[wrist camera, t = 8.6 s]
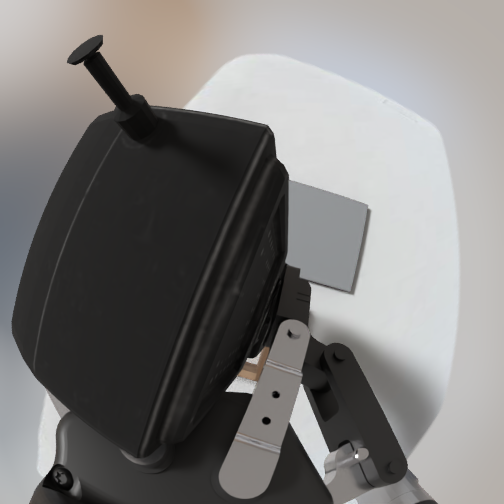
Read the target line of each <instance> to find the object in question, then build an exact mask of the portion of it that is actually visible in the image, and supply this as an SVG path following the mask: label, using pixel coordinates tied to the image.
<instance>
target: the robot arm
mask: <svg viewBox="0 0 504 504" xmlns="http://www.w3.org/2000/svg"><path fill="white" fill-rule="evenodd" d="M300 270H301V268H297V267H294V266H290V265H287V266H286V269H285V272H284V275H283V278H282V281H281V284H280V287H279V291H278V294H277V298H276V302H275V307H274V311H273V315H272V320H271V324H270V328H269V332H268V336H267V340H266V344H265V347H269V348H270V349H269V353H268V356H267V358H266V361H265V363H264V366H263V368H262V371H261V373H260V376H259V378H258V381H257V383H256V386H255V388H254V391H253V393H252V394H249V393H239V392H222V394H221V396H220V397H219V399H218V401H217V402H216V403H215V404H214V406H213V407H212V408H211V409H210V410H209V412H208V413H207V414H206V415H205V416H204V418H203V419H202V420H201V421H200V422H199V424H198V425H197V426H196V427H195V428H194V429H193V431H192V432H191V433H190V434H189V435H188V436H187V438H186V439H185V440H184V441H182V442H179V443H176V444H162V445H161V446H160V447H159V448H157V449H156V450H155V451H154V452H153V453H152V454H151V455H150V456H148V457H146V458H135V457H133V456H132V455H130V454H128V453H127V452H125V451H124V450H122V449H121V448H119V447H118V446H116V445H115V444H113V443H112V442H110V441H109V440H107V439H106V438H105V437H103V436H102V435H100V434H99V433H98V432H96V431H95V430H94V429H92V428H91V427H90V426H88V425H87V424H86V423H85V422H83V421H82V420H81V419H80V418H78V417H77V416H76V415H75V414H74V413H72V412H71V411H70V410H69V409H68V408H67V407H66V406H64V405H63V404H62V403H61V402H60V401H59V400H58V399H57V398H56V397H55V396H53V395H52V394H51V393H50V392H49V391H48V390H47V389H46V390H47V392H48V394H49V396H50V398H51V400H52V402H53V404H54V406H55V408H56V410H57V412H58V414H59V415H60V417H61V420H60V421H59V423H58V426H57V429H56V456H55V461H54V464H53V467H52V468H51V470H50V471H49V473H48V474H47V475H46V476H45V477H44V479H43V480H42V481H41V482H40V483H39V485H38V486H37V488H36V489H35V491H34V494H33V496H32V498H31V500H30V503H29V504H344V503H346V502H348V501H350V500H352V499H354V498H356V500H357V502H358V504H438V503H437V502H436V501H435V500H434V499H433V498H432V497H431V496H430V495H429V494H428V493H427V492H426V491H425V490H424V489H423V488H422V487H421V486H420V485H419V484H418V479H417V478H416V476H414V475H413V473H412V472H411V471H410V470H409V469H408V467H407V466H408V464H407V460H406V458H405V456H404V454H403V452H402V449H401V447H400V445H399V443H398V441H397V439H396V437H395V435H394V433H393V431H392V429H391V427H390V425H389V423H388V421H387V418H386V416H385V414H384V412H383V410H382V409H381V407H380V405H379V403H378V401H377V399H376V397H375V395H374V393H373V391H372V389H371V387H370V385H369V383H368V381H367V379H366V377H365V376H364V374H363V372H362V370H361V368H360V366H359V364H358V362H357V361H356V359H355V357H354V355H353V353H352V352H351V350H350V349H349V348H348V347H347V346H345V345H343V344H340V343H332V344H330V345H328V346H326V345H324V344H322V343H320V342H319V341H317V340H316V339H314V338H313V337H312V335H311V334H310V331H309V329H308V320H309V309H310V298H311V297H310V296H311V287H310V284H309V282H308V281H307V280H304V279H300ZM300 383H301V384H303V387H304V390H305V392H306V395H307V397H308V400H309V402H310V405H311V407H312V410H313V412H314V415H315V417H316V420H317V422H318V424H319V427H320V429H321V432H322V434H323V437H324V439H325V442H326V444H327V447H328V449H329V452H330V454H328V456H327V457H326V459H325V461H324V469H325V477H324V480H322V478H321V476H320V475H319V473H318V471H317V470H316V468H315V466H314V465H313V463H312V461H311V460H310V458H309V456H308V454H307V453H306V451H305V449H304V447H303V446H302V444H301V442H300V440H299V439H298V437H297V435H296V433H295V431H294V430H293V428H292V426H291V424H290V423H289V420H290V417H291V414H292V411H293V408H294V404H295V401H296V397H297V394H298V391H299V387H300Z"/></svg>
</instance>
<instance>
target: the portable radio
mask: <svg viewBox="0 0 504 504" xmlns="http://www.w3.org/2000/svg"><path fill="white" fill-rule="evenodd" d="M102 44H103V35H97V36H95V37H92V38H90V39H89V40H87V41H86V42H84V43H83V44H81V45H80V46H79V47H78V48H77V49H76V50H74V51H73V52H72V54H71V55H70V56H69V58H68V60H67V63H69V64H72V65H77V64H79V63H81V62H83V61H84V66H85V67H86V68H87V69H88V71H89V72H90V73H91V75H92V76H93V77H94V79H95V80H96V81H97V82H98V84H99V85H100V86H101V87H102V89H103V90H104V91H105V93H106V94H107V95H108V96H109V97H110V99H111V100H112V101H113V103H114V104H115V105H116V107H115V110H114V111H111V112H108V113H105V114H102V115H100V116H98V117H97V118H96V119H95V120H94V121H93V122H92V123H91V124H90V125H89V127H88V128H87V130H86V131H85V133H84V135H83V136H82V138H81V140H80V141H79V143H78V145H77V146H76V148H75V150H74V151H73V153H72V155H71V157H70V158H69V160H68V162H67V164H66V166H65V168H64V170H63V172H62V173H61V176H60V177H59V180H58V182H57V183H56V186H55V188H54V190H53V192H52V194H51V196H50V198H49V201H48V203H47V206H46V208H45V210H44V212H43V215H42V217H41V220H40V222H39V225H38V228H37V230H36V233H35V235H34V238H33V241H32V244H31V247H30V250H29V253H28V256H27V259H26V263H25V266H24V270H23V273H22V277H21V280H20V284H19V288H18V293H17V297H16V302H15V306H14V311H13V317H12V334H13V337H14V339H15V341H16V344H17V346H18V348H19V351H20V353H21V355H22V357H23V359H24V361H25V362H26V364H27V365H28V367H29V368H30V370H31V372H32V373H33V374H34V376H35V377H36V379H37V380H38V381H39V382H40V383H41V384H42V385H43V386H44V387H45V388H46V389H47V390H48V391H49V392H50V393H51V394H52V395H53V396H55V397H56V398H57V399H58V400H59V401H60V402H61V403H62V404H63V405H64V406H66V407H67V408H68V409H69V410H70V411H71V412H72V413H74V414H75V415H76V416H77V417H78V418H80V419H81V420H82V421H83V422H85V423H86V424H87V425H88V426H90V427H91V428H92V429H94V430H95V431H96V432H98V433H99V434H100V435H102V436H103V437H105V438H106V439H107V440H109V441H110V442H112V443H113V444H115V445H116V446H118V447H119V448H121V449H122V450H124V451H125V452H127V453H128V454H130V455H132V456H133V457H135V458H146V457H148V456H150V455H151V454H152V453H153V452H154V451H155V450H156V449H157V448H159V447H160V446H161V445H162V444H176V443H179V442H182V441H184V440H185V439H186V438H187V436H188V435H189V434H190V433H191V432H192V431H193V429H194V428H195V427H196V426H197V425H198V424H199V422H200V421H201V420H202V419H203V418H204V416H205V415H206V414H207V413H208V412H209V410H210V409H211V408H212V407H213V406H214V404H215V403H216V402H217V401H218V399H219V397H220V396H221V394H222V392H225V391H226V389H227V388H228V387H229V386H230V384H231V383H232V382H233V381H234V379H235V378H236V377H237V375H238V374H239V373H240V372H241V370H242V368H243V366H244V364H245V362H246V360H247V358H255V357H256V356H257V355H258V354H259V353H260V352H261V351H262V349H263V348H264V347H265V344H266V340H267V336H268V332H269V328H270V324H271V320H272V315H273V311H274V307H275V302H276V298H277V294H278V291H279V287H280V284H281V281H282V278H283V275H284V272H285V269H286V266H287V265H288V264H287V263H285V260H286V257H287V253H288V215H289V174H288V172H287V170H286V168H285V166H284V165H283V164H282V163H281V162H280V161H279V160H278V159H277V158H276V147H275V138H274V133H273V132H272V130H271V129H270V128H269V126H268V125H265V124H261V123H257V122H252V121H248V120H243V119H238V118H233V117H228V116H223V115H218V114H212V113H206V112H199V111H193V110H186V109H177V108H169V107H160V106H150V105H149V104H148V103H147V101H146V100H145V98H144V97H143V96H142V95H139V94H135V95H131V96H130V95H129V94H128V92H127V91H126V89H125V88H124V86H123V85H122V84H121V82H120V81H119V79H118V78H117V76H116V75H115V74H114V72H113V71H112V69H111V68H110V66H109V65H108V63H107V62H106V61H105V59H104V58H103V56H102V55H101V53H100V52H96V51H97V50H99V48H100V47H101V46H102Z"/></svg>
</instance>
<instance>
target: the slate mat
mask: <svg viewBox="0 0 504 504" xmlns="http://www.w3.org/2000/svg"><path fill="white" fill-rule="evenodd" d="M367 208H368V205H367V204H364V203H361V202H358V201H355V200H353V199H350V198H347V197H344V196H341V195H337V194H334V193H331V192H328V191H325V190H322V189H319V188H315V187H312V186H309V185H305V184H302V183H298V182H295V181H291V180H289V215H288V253H287V257H286V260H285V263H287V264H288V265H290V266H294V267H297V268H301V270H300V278H302V279H305V280H309V281H312V282H315V283H319V284H322V285H326V286H330V287H333V288H337V289H340V290H344V291H347V292H350V291H351V287H352V283H353V279H354V275H355V270H356V266H357V261H358V257H359V252H360V247H361V242H362V237H363V232H364V226H365V220H366V215H367Z"/></svg>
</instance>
